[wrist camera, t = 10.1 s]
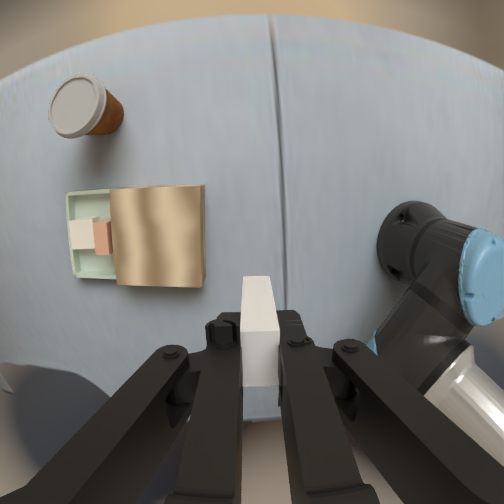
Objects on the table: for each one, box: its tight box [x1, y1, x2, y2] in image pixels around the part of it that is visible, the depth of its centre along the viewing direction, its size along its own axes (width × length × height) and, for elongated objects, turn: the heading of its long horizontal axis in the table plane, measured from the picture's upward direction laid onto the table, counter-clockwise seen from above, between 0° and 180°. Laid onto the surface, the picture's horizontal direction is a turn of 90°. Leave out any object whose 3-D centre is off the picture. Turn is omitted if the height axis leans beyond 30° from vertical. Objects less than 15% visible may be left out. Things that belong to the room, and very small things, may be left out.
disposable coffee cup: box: [48, 74, 124, 138], centre depth 36 cm, size 10×10×12 cm
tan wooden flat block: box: [109, 185, 206, 287], centre depth 45 cm, size 14×15×5 cm
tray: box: [65, 188, 117, 279], centre depth 46 cm, size 10×15×2 cm, turn 179°
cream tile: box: [69, 216, 99, 250], centre depth 45 cm, size 5×5×2 cm
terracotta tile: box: [93, 218, 113, 255], centre depth 44 cm, size 5×5×2 cm
